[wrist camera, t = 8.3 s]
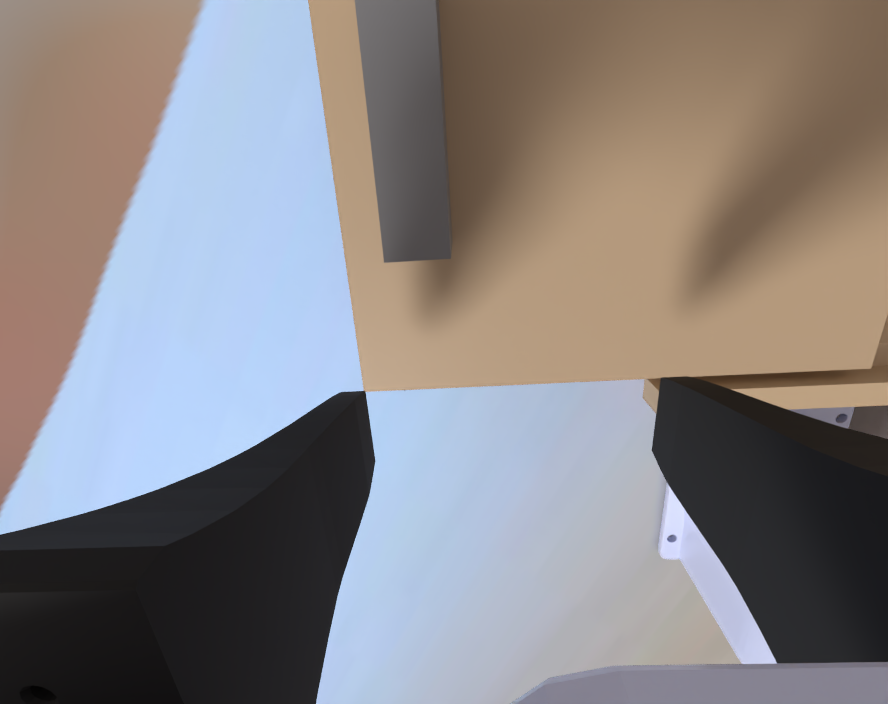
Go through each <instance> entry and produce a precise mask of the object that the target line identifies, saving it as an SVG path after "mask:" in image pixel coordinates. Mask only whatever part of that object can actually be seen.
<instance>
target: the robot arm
mask: <svg viewBox="0 0 888 704" xmlns="http://www.w3.org/2000/svg"><path fill="white" fill-rule="evenodd" d="M854 408H855V407H837V408H813V409H789V410H787V409H784V408H781V407H779V406H776V405H773V404H770V403H767V402H765V401H762V400H759V399H756V398H753V397H751V396H748V395H745V394H742V393H740V392H737V391H734V390H731V389H728V388H726V387H723V386H720V385H717V384H714V383H711V382H708V381H704V380H701V379H697V378H693V377H688V376H683V377H661V380H660V388H659V396H658V404H657V413H656V421H655V429H654V438H653V446H652V452H653V454H654V456H655V458H656V460H657V463H658V465H659V467H660V469H661V471H662V473H663V475H664V477H665V479H666V481H667V486H666V493H665V500H664V507H663V515H662V522H661V529H660V536H659V543H658V552H659V553H660V555H661V557H662V558H664V559H680V560H681V562H682V564H683V565H684V567H685V569H686V570H687V572H688V574H689V575H690V577H691V579H692V581H693V582H694V584H695V586H696V587H697V589H698V591H699V592H700V594H701V596H702V598H703V599H704V601H705V603H706V604H707V606H708V608H709V609H710V611H711V613H712V615H713V616H714V618H715V620H716V621H717V623H718V625H719V626H720V628H721V630H722V632H723V633H724V635H725V637H726V638H727V640H728V642H729V644H730V645H731V647H732V649H733V650H734V652H735V654H736V655H737V657H738V658H739V660H740V661H741V663H742V664H705V665H633V666H610V667H604V668H599V669H594V670H588V671H583V672H578V673H573V674H567V675H562V676H557V677H551V678H548V679H547V680H545V681H544V682H542V683H541V684H539V685H538V686H536V687H535V688H533V689H531V690H530V691H528V692H527V693H525V694H524V695H522V696H521V697H519V698H518V699H516V700H515V701H513V702H512V703H510V704H888V439H885V438H881V437H877V436H873V435H869V434H866V433H862V432H858V431H854V430H851V429H848V428H849V425H850V421H851V418H852V415H853V411H854ZM839 414H840V416H839V417H838V418H836V417H837V416H838V415H839ZM374 465H375V456H374V449H373V442H372V435H371V428H370V421H369V414H368V407H367V400H366V393H365V391H356V392H341V393H338V394H336V395H335V396H333V397H331V398H329V399H328V400H326V401H325V402H323V403H322V404H320V405H319V406H317V407H316V408H314V409H313V410H311V411H310V412H308V413H307V414H305V415H304V416H302V417H301V418H299V419H298V420H296V421H295V422H293V423H292V424H290V425H289V426H287V427H285V428H284V429H282V430H280V431H279V432H277V433H275V434H274V435H272V436H270V437H269V438H267V439H265V440H264V441H262V442H260V443H259V444H257V445H255V446H253V447H252V448H250V449H248V450H246V451H244V452H242V453H240V454H239V455H237V456H235V457H233V458H230V459H228V460H226V461H224V462H222V463H220V464H218V465H216V466H214V467H212V468H210V469H207V470H205V471H203V472H200V473H198V474H195V475H193V476H190V477H188V478H185V479H183V480H180V481H178V482H176V483H173V484H171V485H168V486H166V487H163V488H161V489H158V490H155V491H152V492H150V493H147V494H144V495H141V496H138V497H135V498H132V499H129V500H126V501H123V502H120V503H117V504H114V505H110V506H107V507H104V508H101V509H98V510H94V511H91V512H87V513H84V514H81V515H77V516H73V517H69V518H65V519H61V520H58V521H54V522H50V523H46V524H42V525H38V526H34V527H31V528H27V529H23V530H19V531H15V532H10V533H6V534H2V535H0V704H316V699H317V693H318V688H319V683H320V678H321V673H322V668H323V663H324V658H325V653H326V647H327V642H328V637H329V633H330V628H331V624H332V619H333V614H334V610H335V605H336V600H337V596H338V592H339V589H340V585H341V581H342V578H343V574H344V571H345V568H346V565H347V562H348V559H349V556H350V553H351V550H352V547H353V544H354V541H355V538H356V535H357V532H358V529H359V526H360V523H361V520H362V516H363V513H364V510H365V507H366V504H367V501H368V497H369V494H370V488H371V483H372V477H373V471H374ZM670 535H672V536H670ZM668 536H670V537H668Z"/></svg>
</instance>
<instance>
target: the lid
mask: <svg viewBox="0 0 888 704" xmlns="http://www.w3.org/2000/svg"><path fill="white" fill-rule="evenodd" d="M308 3H309V10H310V17H311V24H312V31H313V38H314V45H315V52H316V59H317V66H318V73H319V80H320V87H321V94H322V101H323V108H324V115H325V121H326V128H327V135H328V142H329V149H330V156H331V163H332V170H333V177H334V184H335V191H336V198H337V205H338V212H339V219H340V226H341V233H342V240H343V247H344V254H345V261H346V268H347V275H348V282H349V289H350V296H351V303H352V310H353V317H354V324H355V331H356V338H357V345H358V352H359V359H360V366H361V373H362V380H363V387H364V391H365V392H370V391H392V390H414V389H436V388H458V387H480V386H501V385H523V384H545V383H567V382H589V381H611V380H633V379H655V378H661V377H683V376H688V377H698V376H720V375H742V374H764V373H786V372H808V371H829V370H851V369H871V367H872V364H873V361H874V357H875V354H876V351H877V348H878V344H879V341H880V338H881V334H882V331H883V328H884V325H885V321H886V318H887V315H888V0H308Z"/></svg>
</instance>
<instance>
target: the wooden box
mask: <svg viewBox="0 0 888 704" xmlns="http://www.w3.org/2000/svg"><path fill="white" fill-rule="evenodd" d="M693 378H697V379H701V380H704V381H708V382H711V383H714V384H717V385H720V386H723V387H726V388H728V389H731V390H734V391H737V392H740V393H742V394H745V395H748V396H751V397H753V398H756V399H759V400H762V401H765V402H767V403H770V404H773V405H776V406H779V407H781V408H784V409H787V410H789V409H813V408H837V407H861V406H885V405H888V315H887V318H886V321H885V325H884V328H883V331H882V334H881V338H880V341H879V344H878V348H877V351H876V354H875V357H874V361H873V364H872V367H871V369H851V370H829V371H808V372H786V373H764V374H742V375H720V376H698V377H693ZM660 380H661V378H655V379H645V382H644V391H643V399H644V400H645V401H646V402H647V403H648V405H649V406H650V407H651V408H652V409H653V410H654V412H655V413H657V404H658V396H659V388H660Z"/></svg>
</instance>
